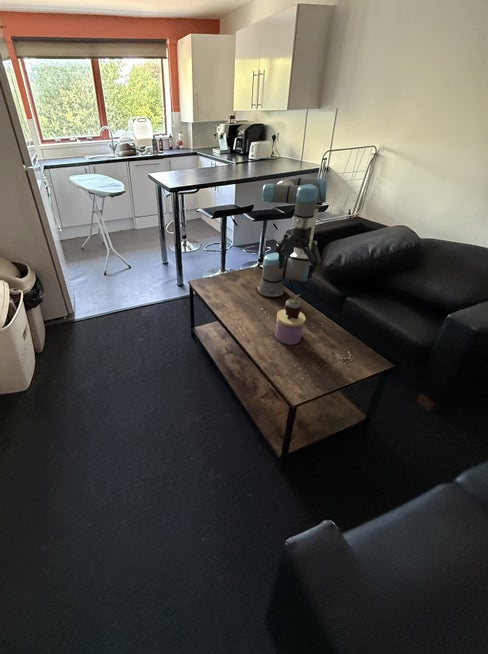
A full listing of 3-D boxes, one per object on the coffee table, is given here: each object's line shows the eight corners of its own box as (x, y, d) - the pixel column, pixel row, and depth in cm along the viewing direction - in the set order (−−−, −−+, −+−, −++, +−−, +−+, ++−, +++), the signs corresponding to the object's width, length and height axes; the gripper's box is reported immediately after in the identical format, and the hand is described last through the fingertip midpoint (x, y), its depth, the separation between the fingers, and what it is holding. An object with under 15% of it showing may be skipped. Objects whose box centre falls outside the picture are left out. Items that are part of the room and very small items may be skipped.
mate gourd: (288, 310, 150) (293, 282, 142) (304, 316, 145) (309, 288, 137) (280, 316, 145) (284, 288, 138) (295, 323, 140) (300, 294, 133)
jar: (283, 325, 159) (286, 305, 153) (306, 336, 151) (310, 316, 145) (269, 336, 151) (271, 316, 146) (292, 348, 143) (296, 328, 138)
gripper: (270, 221, 133) (265, 267, 143) (328, 236, 117) (317, 285, 128) (280, 217, 137) (274, 261, 148) (337, 230, 121) (326, 279, 132)
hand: (294, 273), depth 138 cm, fingers open, 13 cm apart
